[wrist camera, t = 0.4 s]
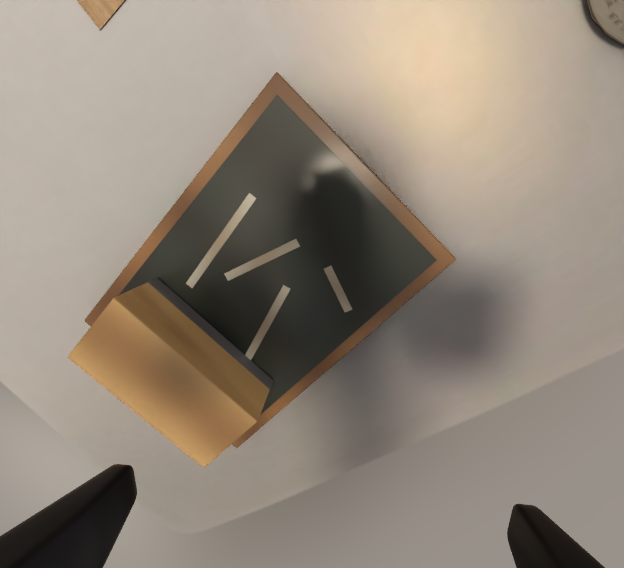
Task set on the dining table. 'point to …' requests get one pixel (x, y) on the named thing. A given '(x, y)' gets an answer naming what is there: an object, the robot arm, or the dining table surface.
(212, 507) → the dining table surface
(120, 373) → the eraser
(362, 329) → the slate board
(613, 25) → the spray can
